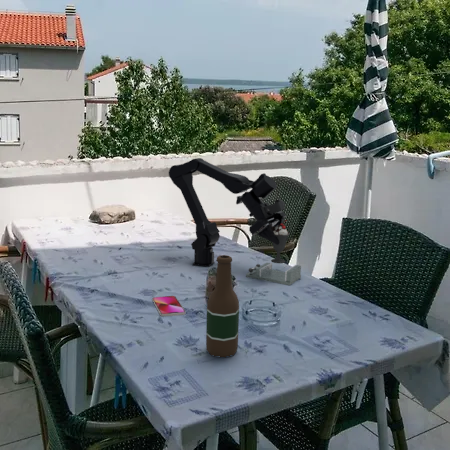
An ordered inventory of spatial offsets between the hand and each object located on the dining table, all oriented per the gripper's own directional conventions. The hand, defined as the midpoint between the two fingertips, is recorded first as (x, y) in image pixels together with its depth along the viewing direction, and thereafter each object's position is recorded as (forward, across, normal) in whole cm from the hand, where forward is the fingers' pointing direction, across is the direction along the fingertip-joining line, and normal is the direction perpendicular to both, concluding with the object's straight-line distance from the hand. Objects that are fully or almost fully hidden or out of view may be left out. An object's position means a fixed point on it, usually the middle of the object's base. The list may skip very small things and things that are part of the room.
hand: (282, 242), depth 188 cm
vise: (+7, 0, +11) cm, 13 cm away
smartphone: (-2, -43, +22) cm, 48 cm away
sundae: (+4, 0, +6) cm, 7 cm away
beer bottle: (+17, -60, +1) cm, 63 cm away
